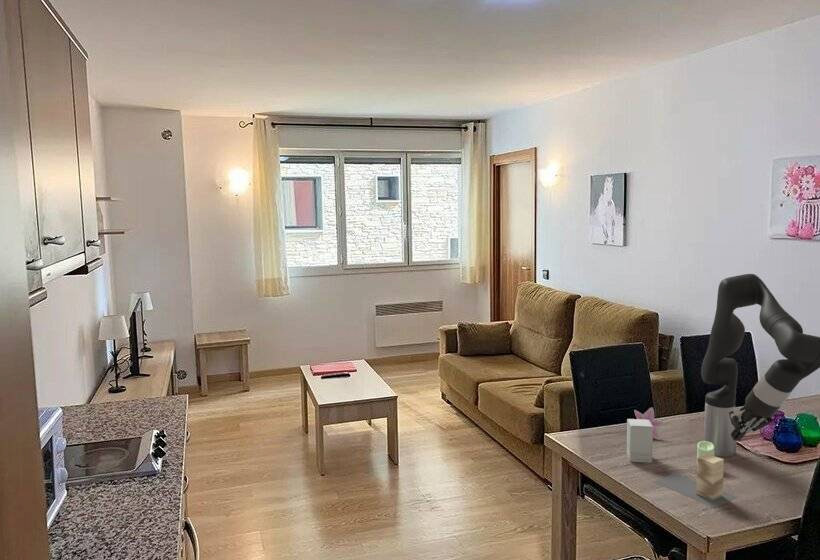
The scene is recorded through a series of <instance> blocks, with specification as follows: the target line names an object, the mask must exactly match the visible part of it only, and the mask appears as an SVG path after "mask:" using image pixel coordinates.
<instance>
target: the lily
mask: <svg viewBox="0 0 820 560" xmlns="http://www.w3.org/2000/svg"><path fill="white" fill-rule="evenodd" d="M633 411H634V414H635V417H636V419H646V420H649V421H650V423H651V424H652V426H653V438H654V439H655V440H657V441H658V440H660V439H661V436H660V433H659V431H658V429H657V428H659V427H661V426H663V424H664V423H663V422H661V421H660V420H656V419H655V411H654V408H653V407H649V408H648V409H647V410H646V411H645V412H644V413H641V412H640V411H638V410H636V409H634V410H633Z"/></svg>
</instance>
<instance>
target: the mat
mask: <svg viewBox="0 0 820 560" xmlns="http://www.w3.org/2000/svg"><path fill="white" fill-rule="evenodd" d="M653 483H655V484H656V485H659V486H662V487H664V488H666V489H669V490H671V491H673V492H676V493H679V494H681V495H683V496H686V497H688V498H690V499H692V500H695V501H697V502H700V503H702V504H705V505H707V506H710V507H712V508H714V509H715V508H717V507H720V506H721V505H724V504H725V503H728V502H730V501H732V500H735V499H737V498H738V497H737V496H734V495H732V494H730V493H727V492H724V491H723V497H721V498H718V499H716V500H714V501H711V500H708V499H706V498H703V497H701V496H698V495H696V488H697V480H694V479H692V478H688V477H687V476H684V475H681V474H679V473H677V472H674V473H672V474H669V475H666V476H664V477H662V478H658V479H656V480H653Z"/></svg>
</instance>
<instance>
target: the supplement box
mask: <svg viewBox="0 0 820 560" xmlns="http://www.w3.org/2000/svg"><path fill="white" fill-rule="evenodd" d="M653 438H654V437H653V426H652V424H651V423H650V421H649V420H646V419H637V418H636V419H635V418H627V419H626V456H627V458H628V461H629V462H632V463H633V462H634V463H651V464H652V463H653V449H654V448H653V446H654V445H653V441H654V440H653Z"/></svg>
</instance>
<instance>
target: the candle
mask: <svg viewBox="0 0 820 560" xmlns="http://www.w3.org/2000/svg"><path fill="white" fill-rule="evenodd" d="M696 448H697V449H696V459H697V458H698V457H701V456H703V455H706V454H710V455H712V456H714V445H713V444H712V443H711V442H708V441H704V440H700V441H699V442H698V443H697V446H696Z"/></svg>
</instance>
